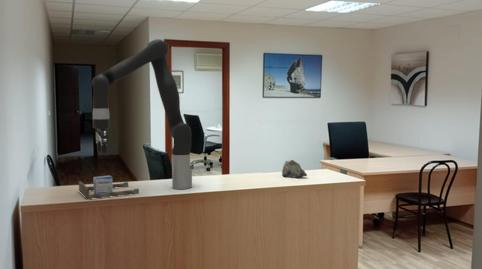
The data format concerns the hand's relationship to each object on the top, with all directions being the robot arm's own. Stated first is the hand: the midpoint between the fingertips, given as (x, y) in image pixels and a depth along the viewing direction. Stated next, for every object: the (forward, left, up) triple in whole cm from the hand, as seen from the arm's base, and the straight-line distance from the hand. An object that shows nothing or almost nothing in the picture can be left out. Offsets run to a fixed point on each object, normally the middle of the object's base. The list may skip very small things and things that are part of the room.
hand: (101, 152), depth 211 cm
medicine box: (0, 0, -21) cm, 21 cm away
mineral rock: (-104, +12, -21) cm, 107 cm away
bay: (-3, -2, -20) cm, 21 cm away
